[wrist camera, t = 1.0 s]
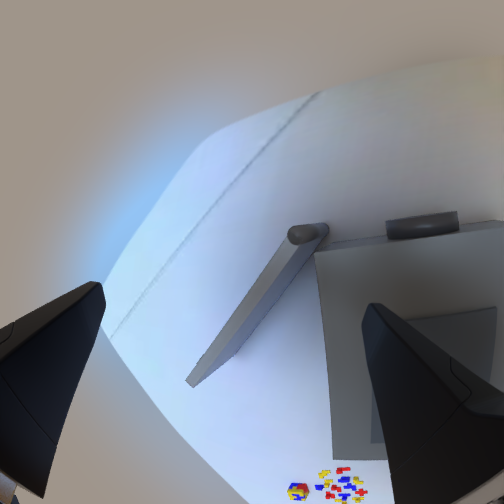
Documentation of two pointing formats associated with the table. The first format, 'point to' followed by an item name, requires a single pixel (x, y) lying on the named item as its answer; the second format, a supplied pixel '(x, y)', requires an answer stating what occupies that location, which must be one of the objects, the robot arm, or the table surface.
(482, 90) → the table surface
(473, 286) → the camera box
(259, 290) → the side door
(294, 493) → the building blocks
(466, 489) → the robot arm
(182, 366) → the table surface
